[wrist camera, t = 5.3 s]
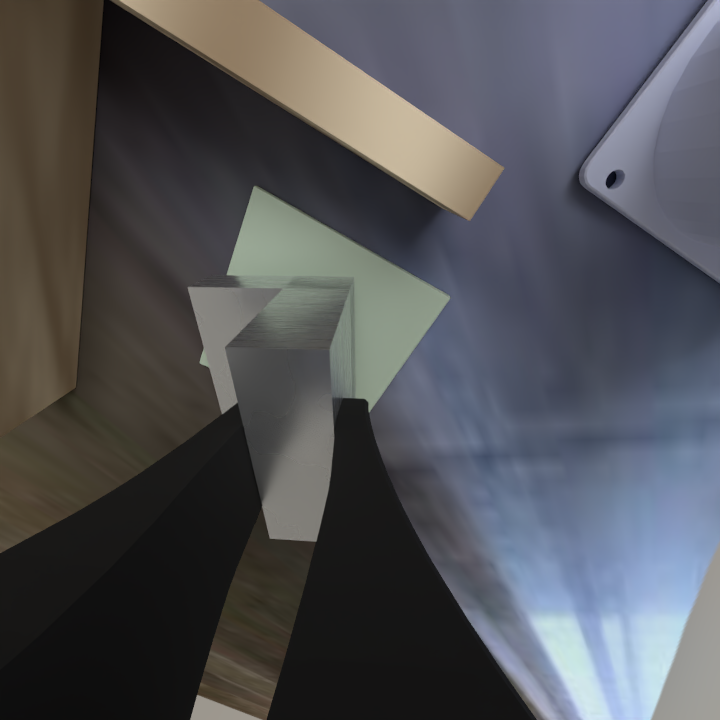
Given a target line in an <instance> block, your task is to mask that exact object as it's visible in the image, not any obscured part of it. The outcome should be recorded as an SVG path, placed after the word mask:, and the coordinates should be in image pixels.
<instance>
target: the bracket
mask: <svg viewBox="0 0 720 720" xmlns="http://www.w3.org/2000/svg"><path fill="white" fill-rule="evenodd" d="M188 291H189V294H190V298H191V302H192V305H193V309H194V313H195V316H196V320H197V324H198V327H199V331H200V335H201V338H202V342H203V346H204V350H205V353H206V357H207V361H208V364H209V368H210V372H211V375H212V379H213V383H214V386H215V390H216V394H217V397H218V401H219V405H220V409H221V412H222V414H223V413H225V412H226V411H227V410H229V409H230V408H231V407H232V406H234V405H235V404H236V403H238V406H239V410H240V414H241V418H242V423H243V427H244V431H245V435H246V440H247V444H248V448H249V452H250V457H251V461H252V465H253V469H254V474H255V478H256V482H257V486H258V491H259V495H260V499H261V503H262V508H263V512H264V516H265V520H266V524H267V529H268V533H269V537H270V539H283V540H299V541H315V542H316V541H317V537H318V533H319V529H320V525H321V520H322V516H323V512H324V508H325V503H326V499H327V495H328V490H329V483H330V477H331V468H332V457H333V447H334V436H335V426H336V418H337V415H338V411H339V408H340V405H341V402H342V399H343V398H356V378H355V309H354V277H332V276H244V275H210V276H208V277H206V278H204V279H202V280H200V281H198V282H196V283H194V284H193V285H191V286H189V287H188Z"/></svg>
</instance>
